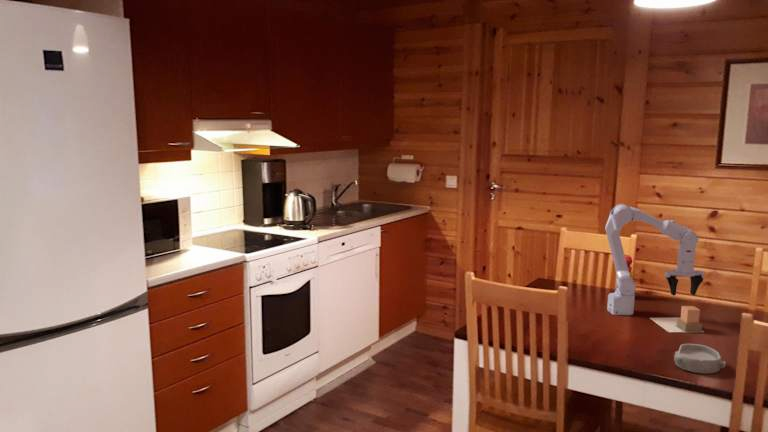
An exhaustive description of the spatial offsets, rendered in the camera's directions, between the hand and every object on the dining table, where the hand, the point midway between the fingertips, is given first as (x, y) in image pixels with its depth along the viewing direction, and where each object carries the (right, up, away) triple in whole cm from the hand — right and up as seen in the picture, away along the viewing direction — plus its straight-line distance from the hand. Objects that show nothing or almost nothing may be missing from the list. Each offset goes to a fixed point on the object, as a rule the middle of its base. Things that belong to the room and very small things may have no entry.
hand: (682, 294), depth 226 cm
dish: (-16, -18, -40) cm, 46 cm away
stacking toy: (-11, -5, +29) cm, 31 cm away
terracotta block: (-4, -8, -12) cm, 15 cm away
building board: (-6, -11, -7) cm, 15 cm away
